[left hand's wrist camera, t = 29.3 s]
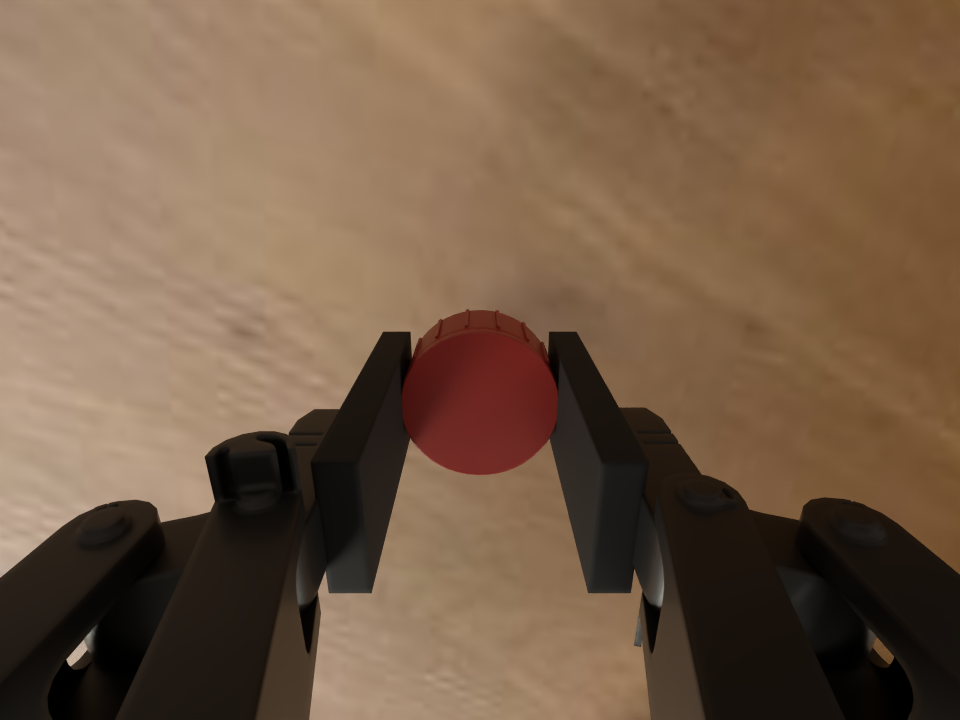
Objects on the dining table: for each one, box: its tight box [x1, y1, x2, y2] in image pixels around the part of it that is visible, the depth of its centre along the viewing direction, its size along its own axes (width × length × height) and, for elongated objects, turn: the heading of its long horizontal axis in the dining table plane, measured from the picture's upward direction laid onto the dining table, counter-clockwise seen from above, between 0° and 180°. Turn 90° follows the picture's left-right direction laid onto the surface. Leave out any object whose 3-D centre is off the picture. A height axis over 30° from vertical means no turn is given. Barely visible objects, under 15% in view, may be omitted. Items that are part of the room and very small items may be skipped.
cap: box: [401, 309, 558, 475], centre depth 13 cm, size 4×4×2 cm
